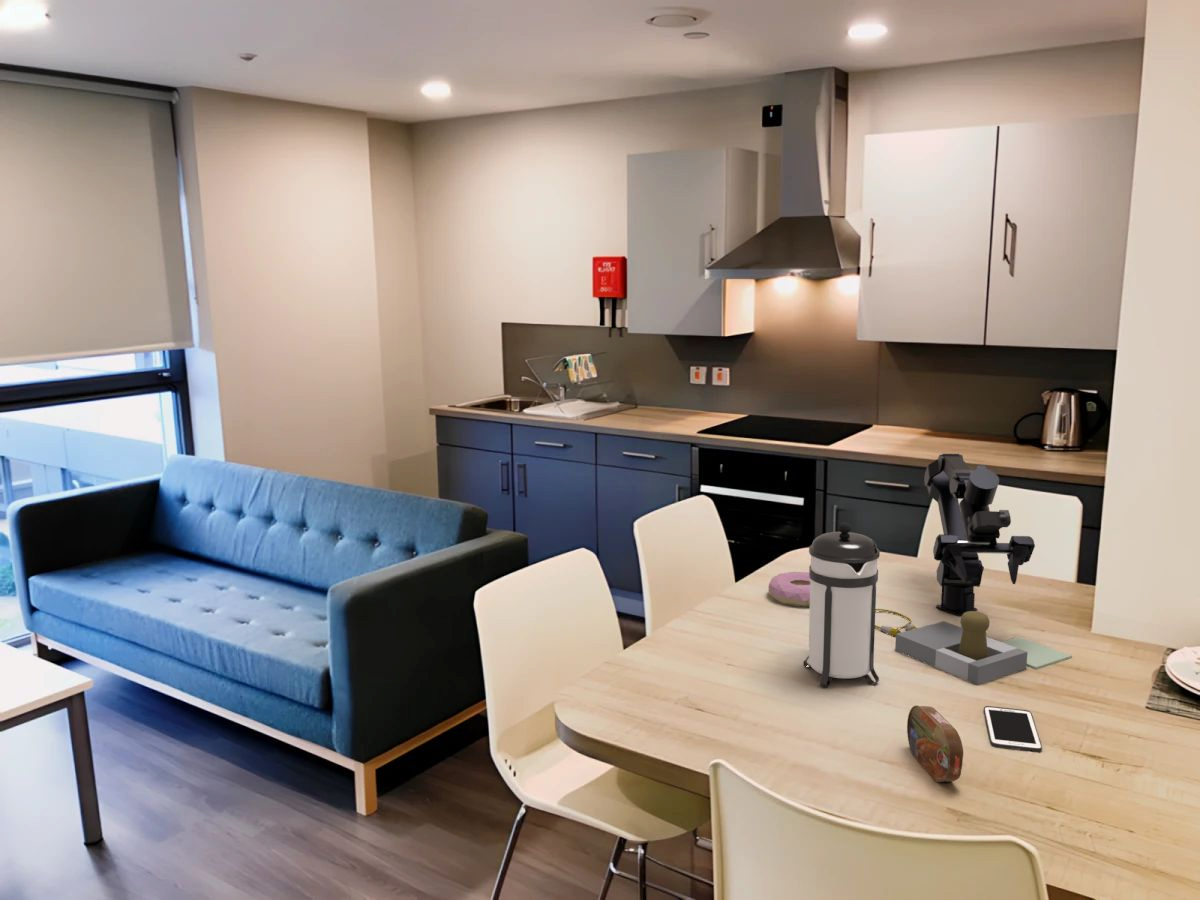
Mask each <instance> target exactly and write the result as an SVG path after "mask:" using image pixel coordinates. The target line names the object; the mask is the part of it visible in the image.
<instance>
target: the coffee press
mask: <svg viewBox="0 0 1200 900" xmlns="http://www.w3.org/2000/svg"><path fill="white" fill-rule="evenodd" d="M851 526H852V525H851V524H850V523H848V522H847V521H843V522H841V523H840V524H839V525H838V527H837V529H838V530H839V531H831V532H826V533H822V534H820V535H818V536H817V537H815V539H813V541H812V544H810V545H809V547H808V553H809V556H810V565H809V570H808V573H809V577H810V606H809V615H808V616H809V619H808V655H807V657H806V658H805V659H804V660H803V666H805V668H806V666H807V665H811V666H809V667H808V668H807V669H809V668H812V669H813V670H814V671H815V672H817V673H819V674H820V675H821V677H820V680H819V686H820V687H823V688H829V687H830V685H831V682H832V680H833V679H834V678H836V679H857V678H861V677H862V678H864V679H865V680H866V681H867V682H868V683H869V684H870V685H872V686H875V685H876V684H878V683H879V681H880V678H879V676H878V674H877V673H876V671H875V666H874V663H875V662H874V661H875V660H874V658H875V656H874V655H875V633H876V632H875V631H876V630H875V629H876V628H875V625H876V612H875V611H876V610H875V609H876V603H877V600H876V599H877V583H878V579H879V570H878V559H879V558H880V556H881V554H880V553H881V551H880V549H879V548H877V547H878V546H877V543H876V542H875V541H874V540H873V539H872V538H871V537H869V536H867V535H864V534H860V533H857V532H851V530H852V527H851ZM808 663H809V664H808ZM869 673H870V674H871V675H872V678H873V679H874V680H873V679H872V678H871V677H870V675H868V674H869Z"/></svg>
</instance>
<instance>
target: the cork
mask: <svg viewBox="0 0 1200 900" xmlns="http://www.w3.org/2000/svg"><path fill="white" fill-rule="evenodd" d="M960 616H961V617H960V627H961V628H963V632H962V637H961V642H960V647H959V652H958V654H961V655H963V656H966V657H968V658H971V659H973V660H976V661H977V660H980V659H984V658H987V657H988V650H987V639H986V637H987V631H988V630H989V627H990V618H989V616H988V615H987V614H986V613H983V612H980V611H978V610H977V611H968V612H965V613H964V614H963V615H960Z"/></svg>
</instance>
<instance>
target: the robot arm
mask: <svg viewBox="0 0 1200 900" xmlns="http://www.w3.org/2000/svg"><path fill="white" fill-rule="evenodd" d="M924 472H925V473H924V479H923V480H924V486H925V487H927V492H928V495H929V496H930V497H931V498H932V499H934V500H935V502H937V506H938V511H939V517H940V521H941V522H940V523H941V526H942V527H941V528H942V532H943V534H941V533H940V534H938V535H937V536H936V537H935V541H934V543H933V544H934V545H933V551H932V552H933V560H935V561H938V562H939V563H938V566H937V569H936V580H937V581H936V582H938V584H939V585H940V586H941V595H940V596H941V597H940V599H941V600H940V604H938V605H935V608H936V609H939V610H941V611H945V612H947V613H950V614H953V615H956V616H962V615H963V614H964V613H965V612H968V611H977V612H978V608H977V607H975V596H976V594H975V592H974V589H975V587H977V588H980V586H981V583H982V578H983V574H984V573H983V572H984V570H985V568H984V565H983V562H982V561H981V559H980V558H979V554H1000V555H1001V554H1006V557H1007V560H1008V561H1007V567H1008V572H1009V577H1010V581H1011V583H1012V585H1016V583H1017V578H1018V574H1019V573H1018V572H1019V567H1020V566H1023V565H1024V564H1025V563H1028V562H1030V559H1031V557H1032V556H1033V551H1034V549H1035V547H1036V545H1035V541H1034V539H1033V537H1031V536H1030V535H1011V537H1010V540H1009V542H998V540H997V539H1000V536H1001V534H1000V530H1001V529H1002V528H1008V527H1009V526H1010V525H1011V523H1012V518H1011V515H1010V514H1011V513H1010V511H1009V509H1000V510H999V511H998V510H997V511H996V510H995V511H993V510H992V511H991V510H990V506H989V505H992V504H993V502H994V499H995V495H996V492H997V489H998V487H999V483H1000V478H999V476H998V475H997V473H995V472H994V471H992V470H990V469H987V465H984V464H983V465H981V464H980V465H977V464H976V465H975V468H974V470H973V469H972V468H971V467H970V466H969V465H968V464H967V463H966V461H965V460H964V456H963V454H960V453H942V454H939V455H938V457H937V459H935V460H934V461H932V462H930V463H929V464H928V465H927V467H926V469H925V471H924ZM959 500H960V502H959Z"/></svg>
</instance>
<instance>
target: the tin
mask: <svg viewBox="0 0 1200 900" xmlns="http://www.w3.org/2000/svg"><path fill="white" fill-rule="evenodd" d="M906 722H907V723H906V733H907V740H908V741H907V742H908V746H909V749H910V751H911V753H912V755H913V758H915V759H916V760H917V762H918V763H919V764H920V765H921V766H922V767H923V768H924V769H925V771H926V772H927V774H929V776H930V777H931V778H932V779H933V780H934V781H936V782H937V783H942V782H956V781H957V780H959V779H960V777H961V775H962V769H963V759H964V747H963V742H962V738H961V736H960V734H959V733H958V731H957V729H956V728H955V727H954V726H953V725H952V724H951V723H950V722H949V721H948V720H947V719H946V718H945V717H944V716H943V715H942V714H941V713H940V712H938V711H937V709H936V708H934V707H933V706H923V705H913V706H912V707H911V708H910V710H909V711H908V716H907V720H906Z"/></svg>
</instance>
